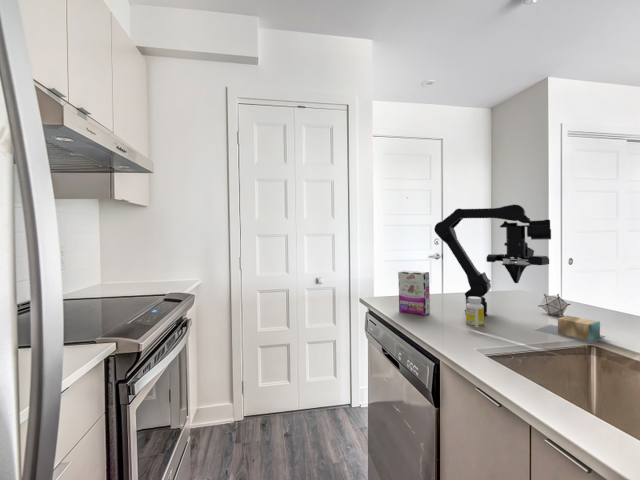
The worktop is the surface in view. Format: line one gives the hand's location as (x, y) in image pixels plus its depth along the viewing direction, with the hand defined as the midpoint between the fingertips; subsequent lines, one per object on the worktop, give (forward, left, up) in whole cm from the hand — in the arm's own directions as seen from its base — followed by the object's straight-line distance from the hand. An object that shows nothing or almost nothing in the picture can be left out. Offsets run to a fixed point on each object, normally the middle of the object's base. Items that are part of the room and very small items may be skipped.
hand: (516, 283), depth 110 cm
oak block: (+7, -15, -10) cm, 19 cm away
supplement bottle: (-17, -11, -13) cm, 24 cm away
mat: (+8, -16, -13) cm, 22 cm away
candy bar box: (-35, +5, -13) cm, 38 cm away
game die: (+15, +6, -13) cm, 21 cm away
